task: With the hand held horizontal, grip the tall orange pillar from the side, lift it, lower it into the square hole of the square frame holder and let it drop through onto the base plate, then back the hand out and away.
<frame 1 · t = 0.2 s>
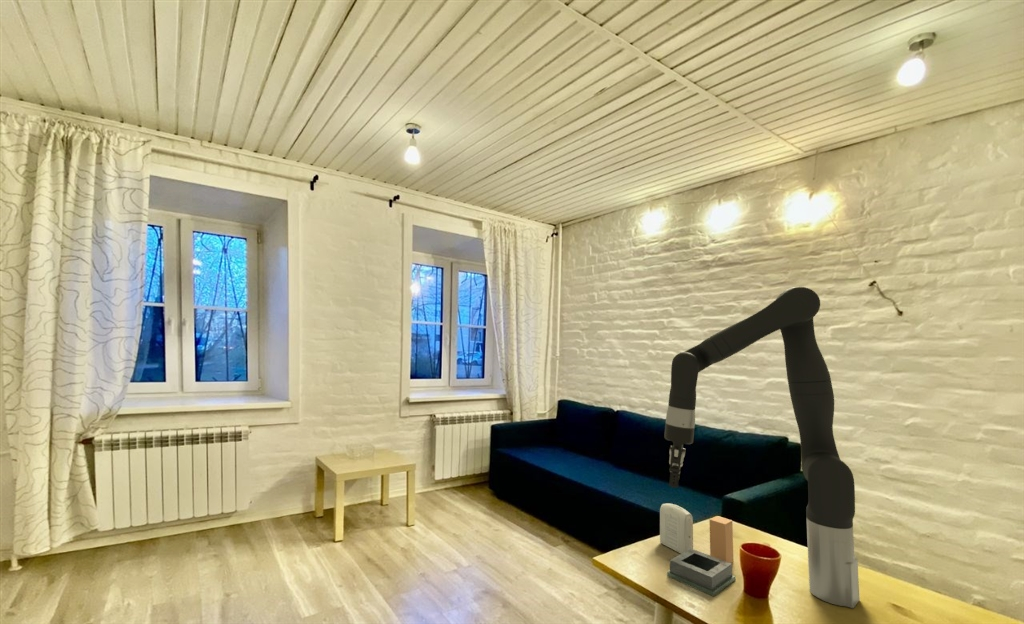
hand: (674, 483, 120), 22 cm above the table, tool pointing down, fingers open, 8 cm apart
tall orange pillar: (721, 560, 122), on the table
square frame holder: (701, 578, 112), on the table
photo printer: (676, 549, 129), on the table
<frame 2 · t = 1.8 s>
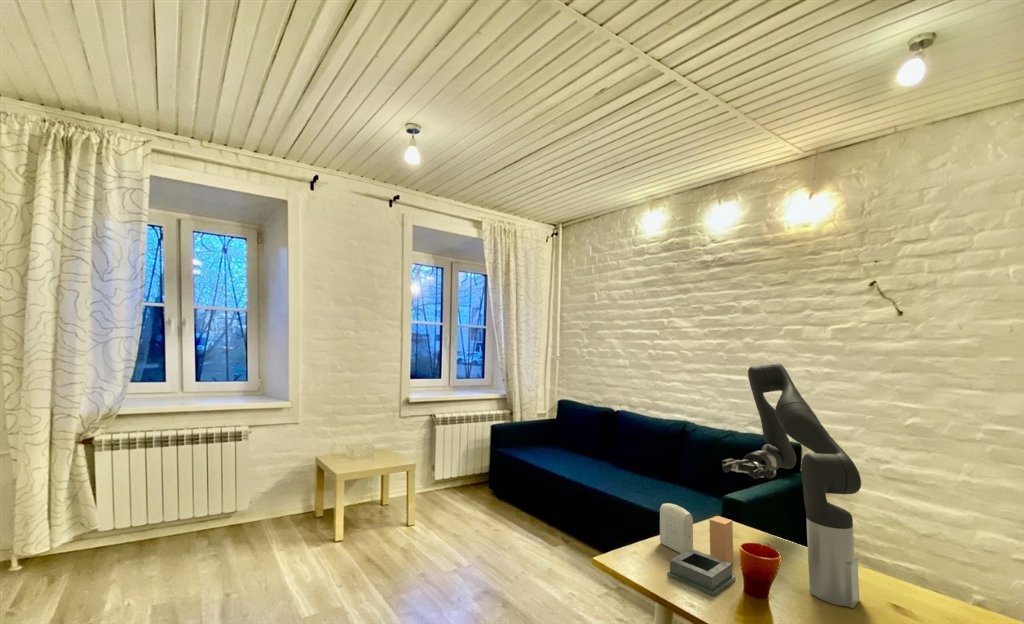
hand: (739, 471, 132), 22 cm above the table, tool horizontal, fingers open, 8 cm apart
nothing on the table moved.
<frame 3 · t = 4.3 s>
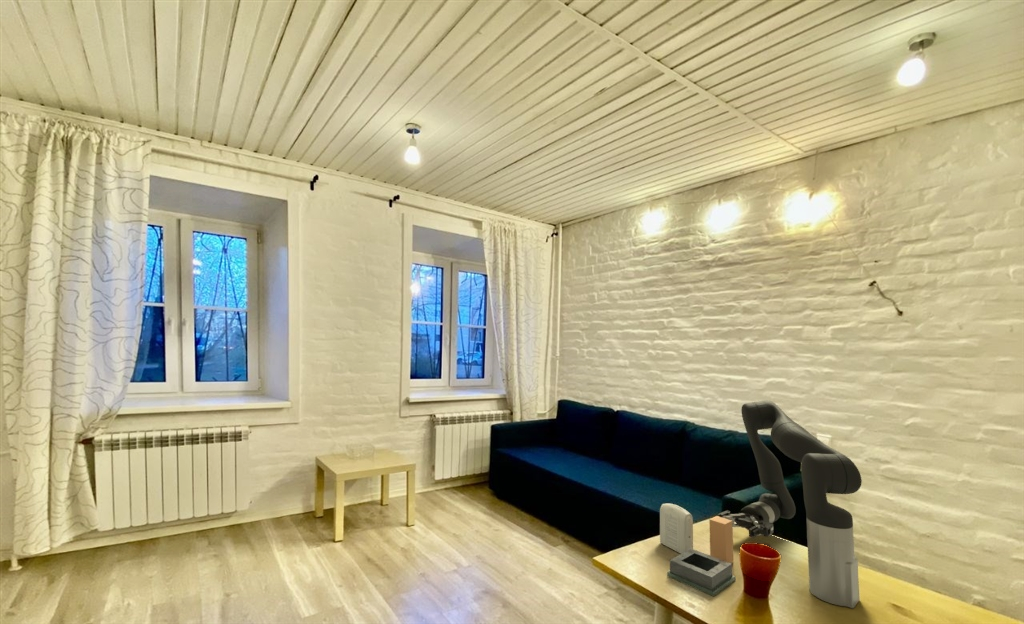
hand: (734, 528, 128), 7 cm above the table, tool horizontal, fingers open, 8 cm apart
nothing on the table moved.
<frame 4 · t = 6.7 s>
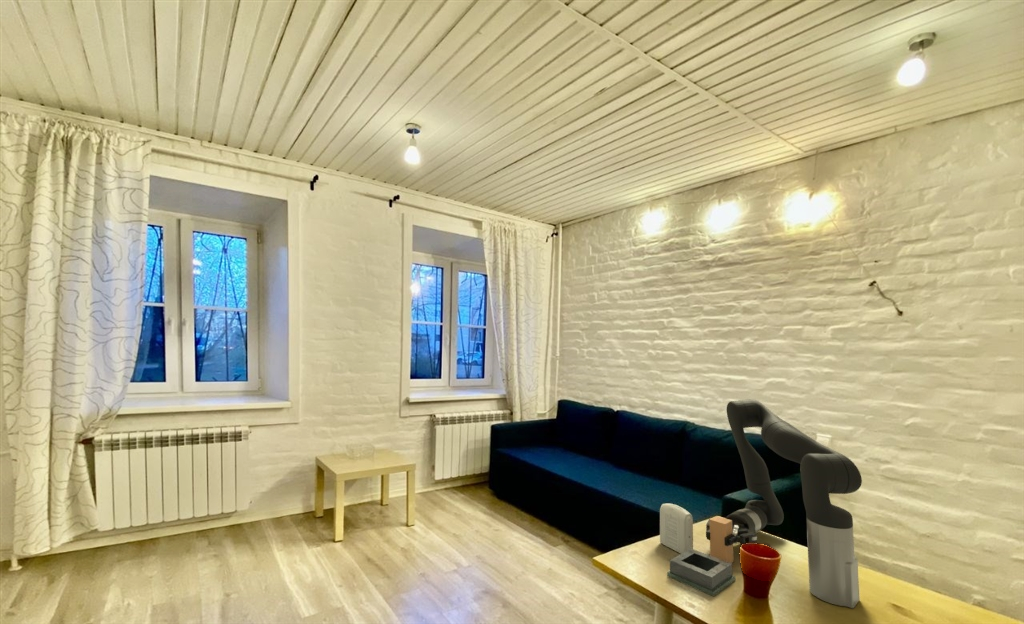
hand: (716, 538, 121), 7 cm above the table, tool horizontal, fingers closed on tall orange pillar, 4 cm apart
tall orange pillar: (721, 560, 122), on the table, touching gripper
everything else where it was.
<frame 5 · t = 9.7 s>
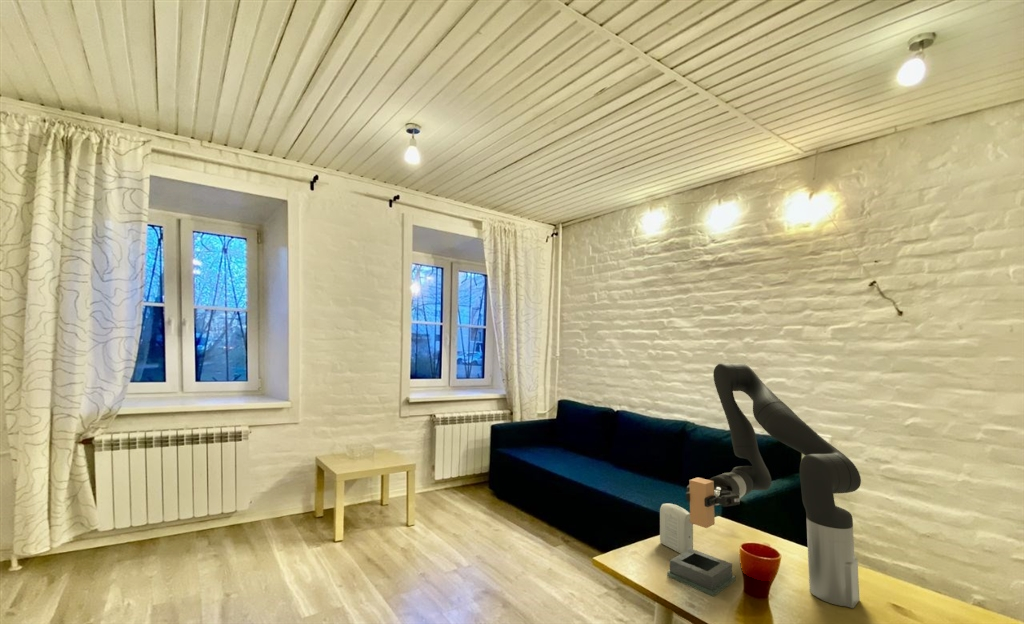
hand: (696, 500, 114), 19 cm above the table, tool horizontal, fingers closed on tall orange pillar, 4 cm apart
tall orange pillar: (702, 523, 115), point 13 cm above the table, touching gripper
everything else where it was.
when the fingers open (9 cm above the table, at t = 12.7 s): tall orange pillar drops 2 cm, resting on square frame holder.
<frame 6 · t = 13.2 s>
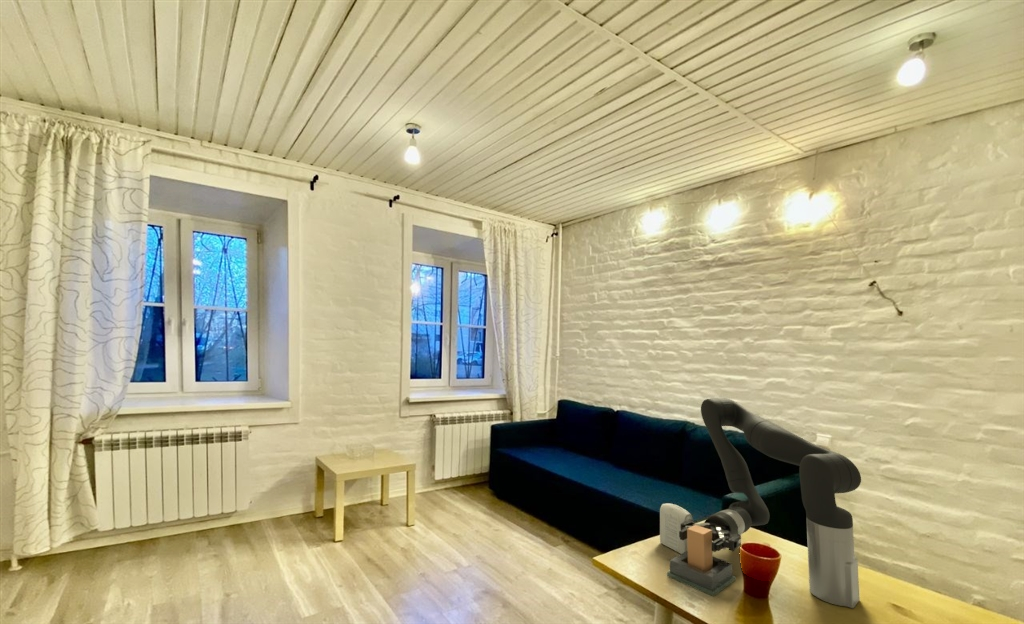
hand: (696, 541, 112), 10 cm above the table, tool horizontal, fingers open, 8 cm apart
tall orange pillar: (700, 573, 112), point 1 cm above the table, touching square frame holder
everything else where it was.
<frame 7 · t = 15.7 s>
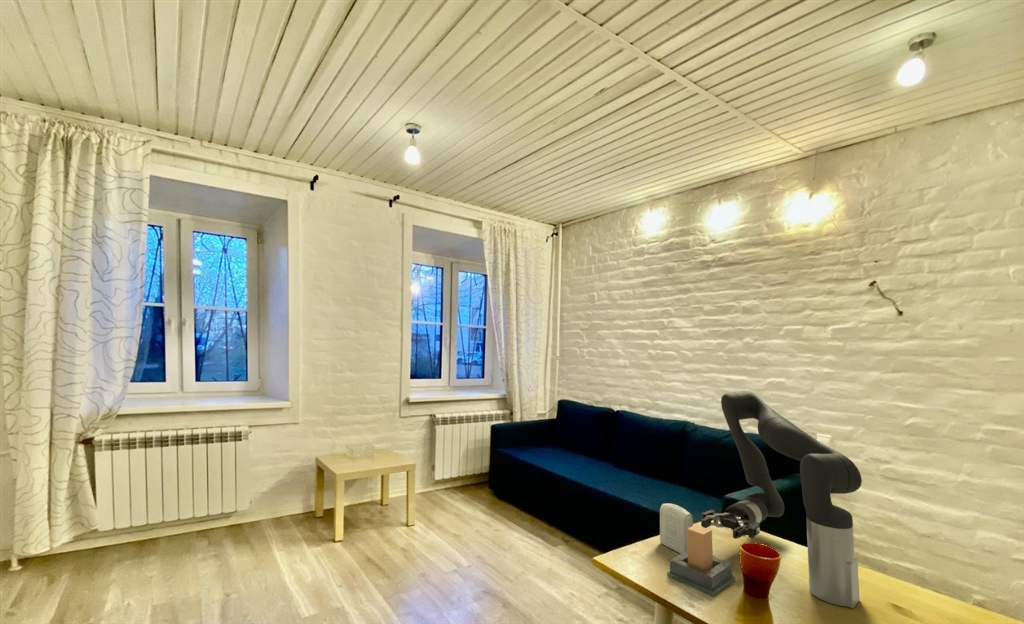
hand: (718, 529, 120), 10 cm above the table, tool horizontal, fingers open, 8 cm apart
nothing on the table moved.
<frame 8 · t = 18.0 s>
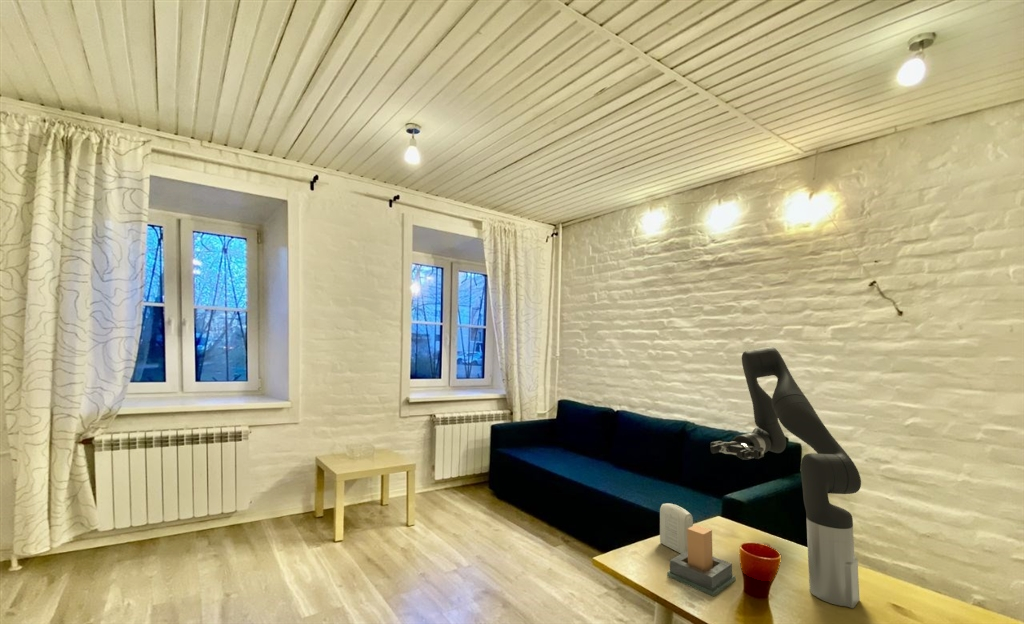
hand: (726, 452, 132), 28 cm above the table, tool horizontal, fingers open, 8 cm apart
nothing on the table moved.
at the end: tall orange pillar 0.2 cm off-centre on the square frame holder, point 1.0 cm above the square frame holder's base; tall orange pillar tilted 0°; the gripper is holding nothing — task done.
